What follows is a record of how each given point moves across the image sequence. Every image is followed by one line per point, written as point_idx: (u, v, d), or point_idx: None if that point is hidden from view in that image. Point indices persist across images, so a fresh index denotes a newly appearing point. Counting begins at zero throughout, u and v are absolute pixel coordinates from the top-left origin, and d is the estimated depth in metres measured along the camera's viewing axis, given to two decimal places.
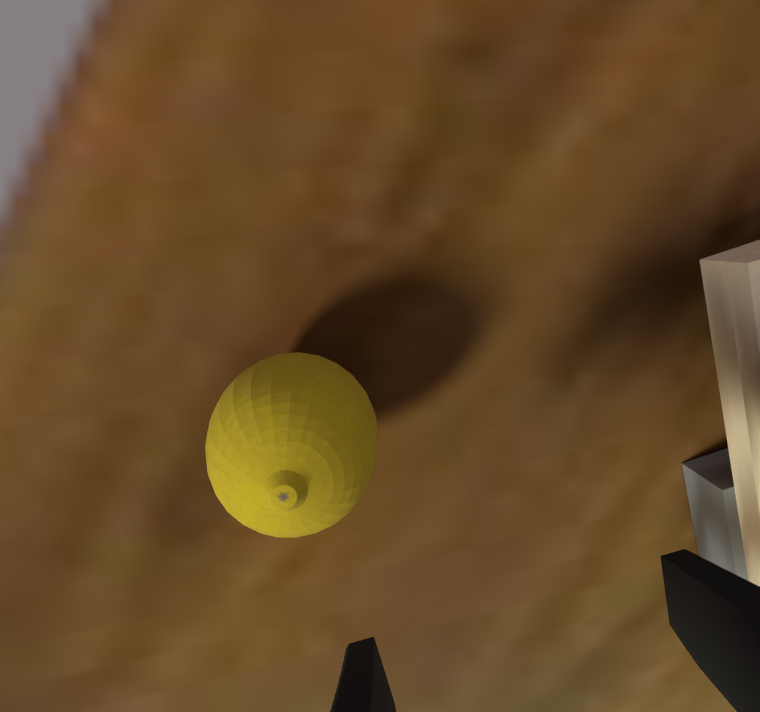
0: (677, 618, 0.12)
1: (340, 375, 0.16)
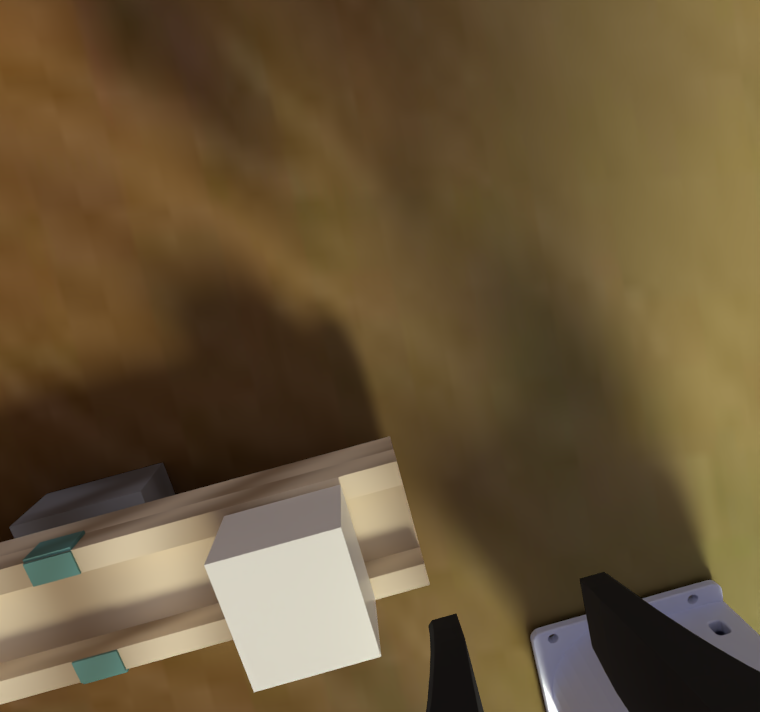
0: (596, 641, 0.12)
1: None
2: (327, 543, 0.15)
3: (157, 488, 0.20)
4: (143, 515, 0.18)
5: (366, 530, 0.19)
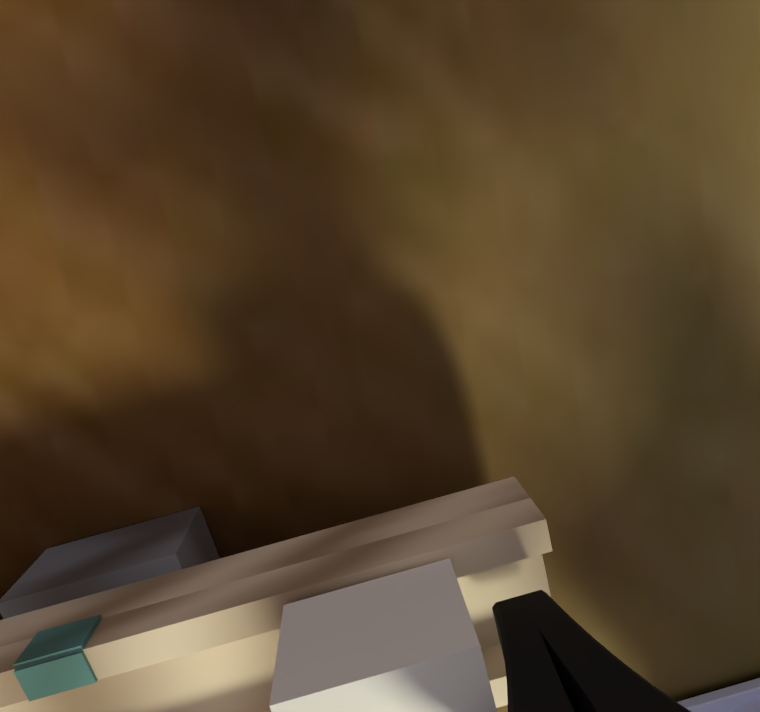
0: None
1: None
2: (458, 669, 0.09)
3: (195, 544, 0.15)
4: (182, 591, 0.13)
5: (487, 607, 0.14)
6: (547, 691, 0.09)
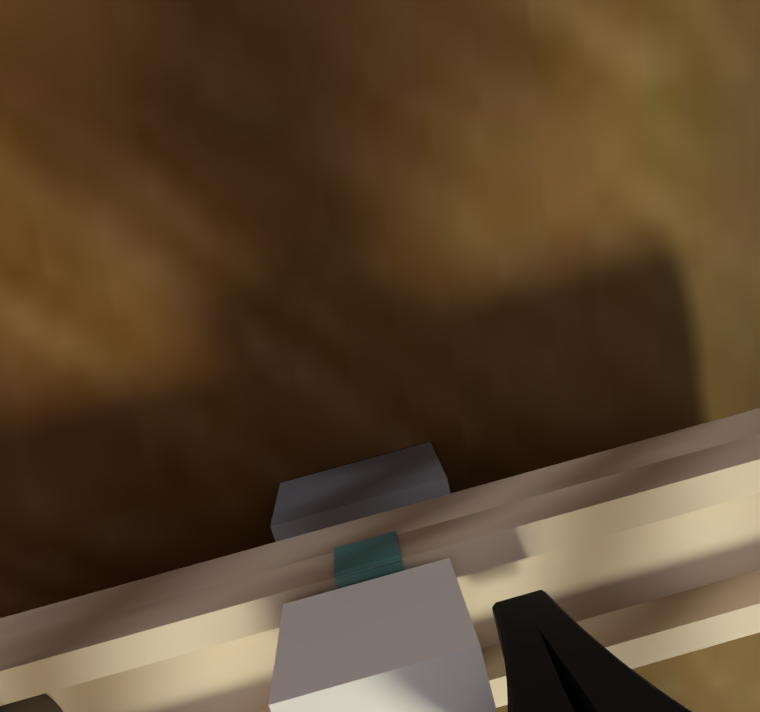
0: None
1: None
2: (458, 669, 0.09)
3: None
4: (472, 510, 0.13)
5: (758, 530, 0.14)
6: (547, 691, 0.09)
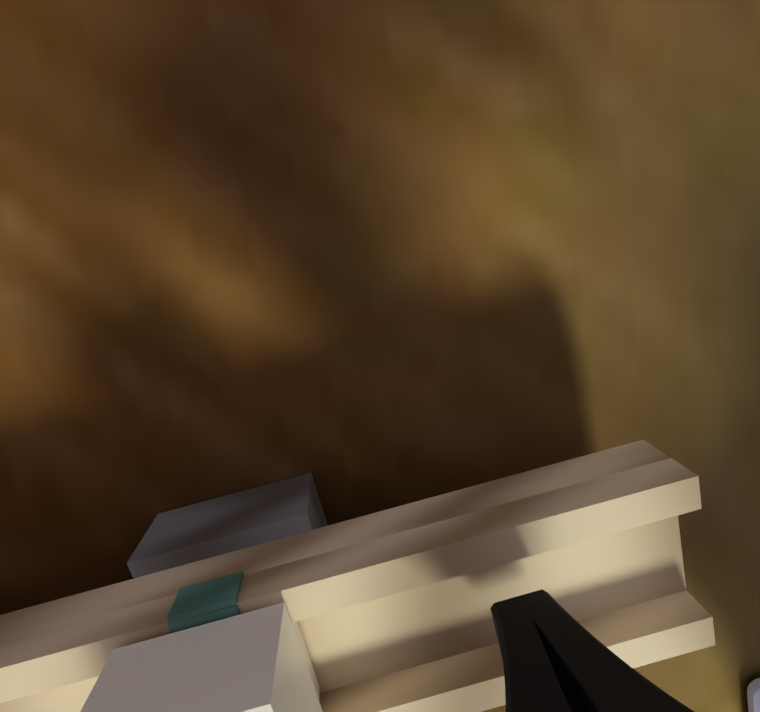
0: None
1: None
2: None
3: (314, 508, 0.15)
4: (323, 549, 0.13)
5: (620, 568, 0.14)
6: (545, 692, 0.09)
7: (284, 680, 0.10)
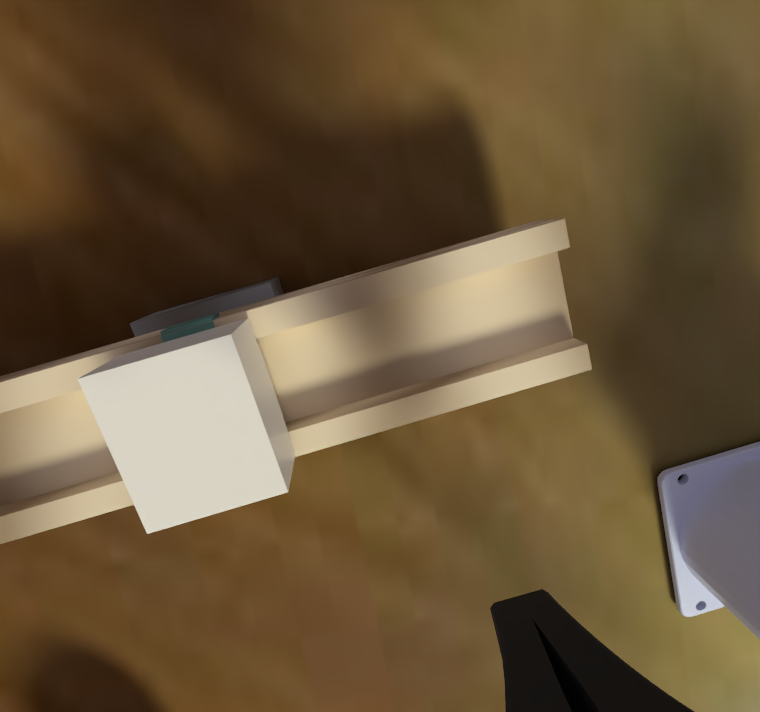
0: None
1: None
2: (216, 353, 0.13)
3: (279, 294, 0.19)
4: (280, 297, 0.17)
5: (518, 317, 0.17)
6: (545, 691, 0.09)
7: (245, 346, 0.14)
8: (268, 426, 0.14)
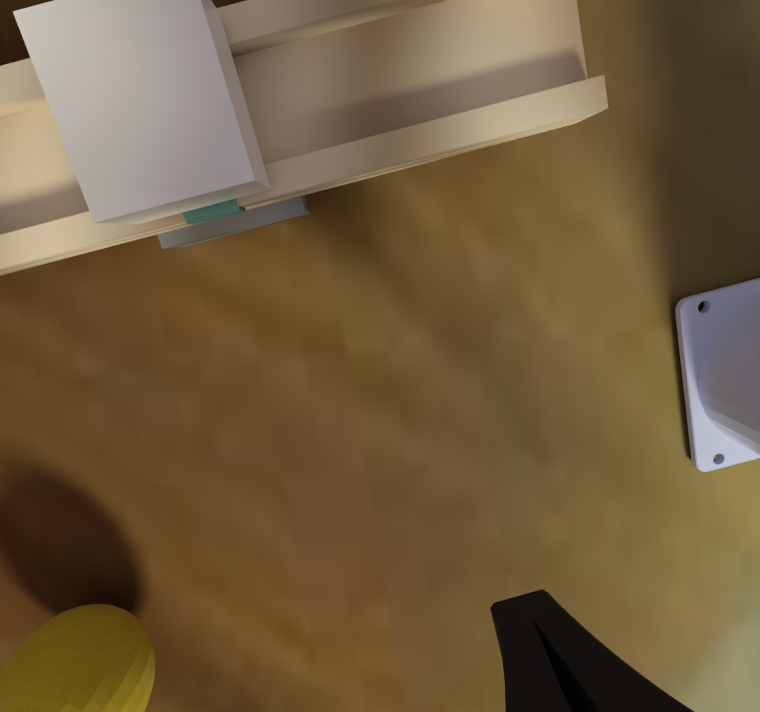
0: None
1: None
2: None
3: None
4: None
5: (526, 54, 0.15)
6: (545, 692, 0.09)
7: (210, 11, 0.12)
8: (234, 103, 0.12)
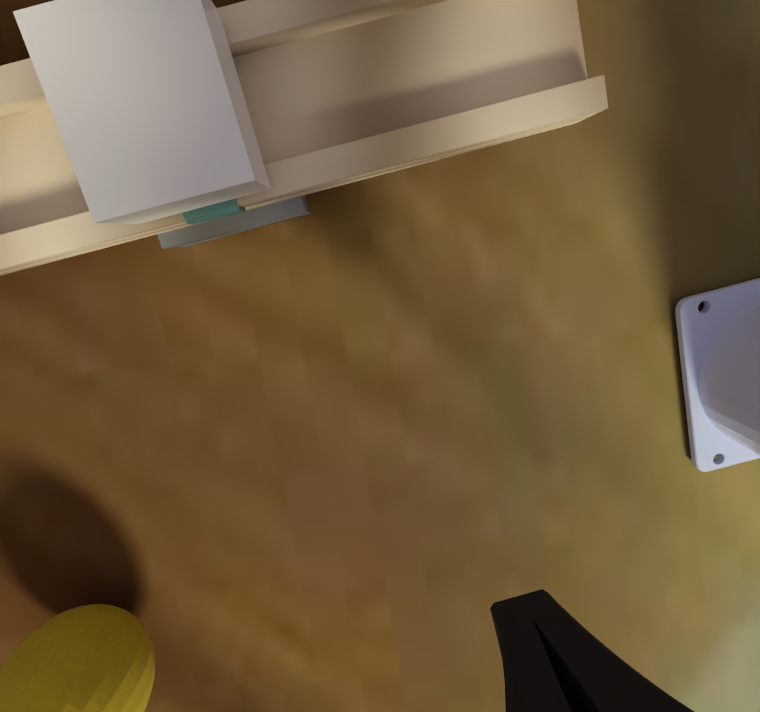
0: None
1: None
2: None
3: None
4: None
5: (526, 54, 0.15)
6: (545, 692, 0.09)
7: (210, 11, 0.12)
8: (234, 103, 0.12)
